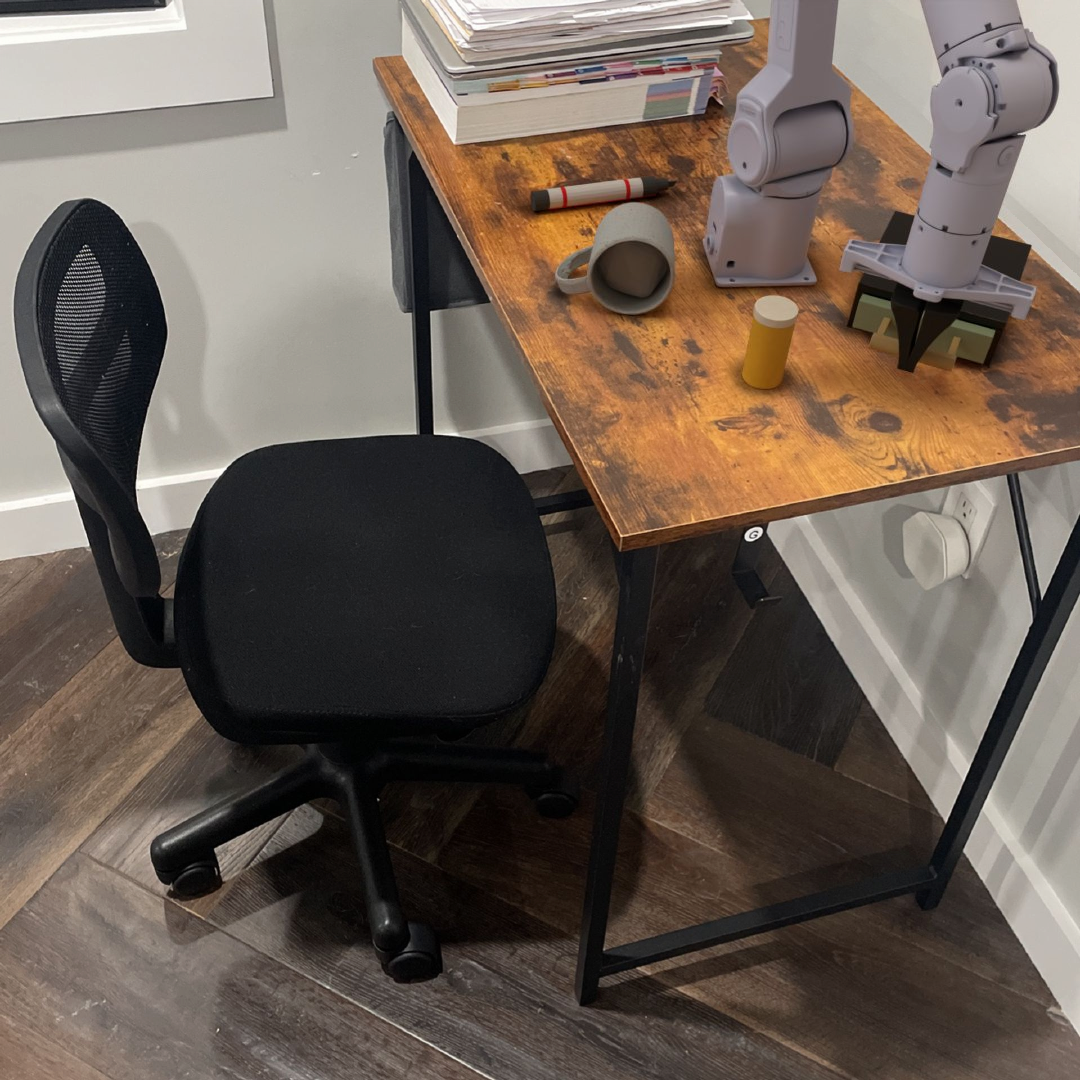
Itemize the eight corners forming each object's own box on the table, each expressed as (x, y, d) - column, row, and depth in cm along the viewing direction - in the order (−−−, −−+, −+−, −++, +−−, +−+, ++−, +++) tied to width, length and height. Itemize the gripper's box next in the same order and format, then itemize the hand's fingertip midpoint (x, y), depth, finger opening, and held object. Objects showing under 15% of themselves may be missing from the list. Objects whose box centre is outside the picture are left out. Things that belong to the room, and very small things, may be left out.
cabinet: (989, 367, 98) (1006, 322, 95) (846, 326, 102) (858, 282, 98) (1015, 287, 107) (1032, 244, 103) (883, 252, 110) (895, 210, 107)
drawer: (973, 391, 94) (984, 364, 92) (839, 353, 97) (846, 326, 95) (1008, 290, 105) (1018, 263, 103) (885, 257, 108) (893, 231, 106)
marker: (535, 215, 113) (535, 197, 112) (529, 205, 114) (530, 187, 113) (678, 196, 116) (681, 178, 115) (671, 187, 118) (674, 169, 116)
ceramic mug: (670, 267, 107) (678, 193, 102) (670, 318, 102) (678, 242, 96) (558, 262, 108) (560, 187, 102) (552, 312, 102) (553, 236, 97)
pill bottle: (732, 372, 97) (745, 303, 91) (763, 359, 98) (777, 290, 93) (760, 395, 95) (775, 325, 90) (791, 380, 96) (807, 311, 91)
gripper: (846, 215, 84) (809, 365, 94) (1047, 266, 80) (987, 417, 90) (870, 175, 89) (832, 322, 98) (1062, 222, 84) (1003, 370, 94)
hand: (907, 364), depth 94 cm, fingers closed, pressing on drawer
